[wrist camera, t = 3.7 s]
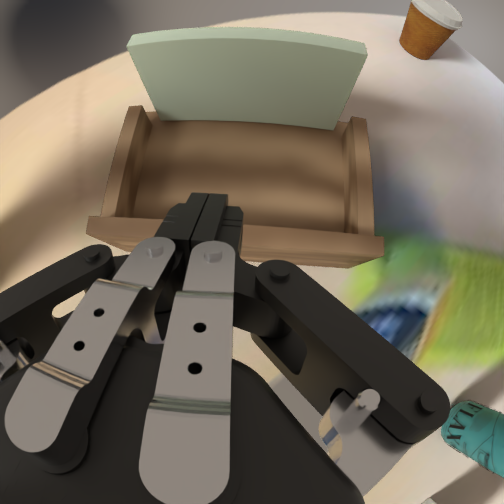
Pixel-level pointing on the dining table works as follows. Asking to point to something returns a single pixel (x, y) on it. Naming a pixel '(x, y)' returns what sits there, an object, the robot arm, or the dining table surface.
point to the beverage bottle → (477, 434)
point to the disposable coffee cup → (428, 26)
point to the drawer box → (247, 185)
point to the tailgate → (248, 74)
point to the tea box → (429, 501)
